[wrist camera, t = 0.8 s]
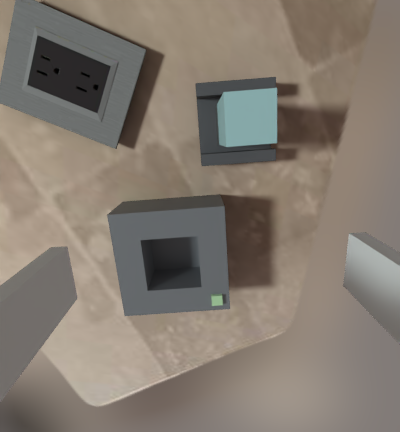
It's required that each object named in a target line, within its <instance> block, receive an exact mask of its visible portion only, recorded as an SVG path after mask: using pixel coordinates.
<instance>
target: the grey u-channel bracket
mask: <svg viewBox="0 0 400 432" xmlns="http://www.w3.org/2000/svg"><path fill="white" fill-rule="evenodd" d="M269 88H276V77H269V78H257V79H244V80H232V81H220V82H208V83H196V95H197V108H198V122H199V136H200V150H201V163H202V166H209V165H222V164H236V163H249V162H262V161H275V160H276V149H272V148H271V144H259V145H246V146H233V147H225V146H222V145H217V129H216V112H215V106H216V104H217V103H218V101H219V100H220V98H221V96H222V94H223V92H231V91H244V90H256V89H269Z"/></svg>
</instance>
